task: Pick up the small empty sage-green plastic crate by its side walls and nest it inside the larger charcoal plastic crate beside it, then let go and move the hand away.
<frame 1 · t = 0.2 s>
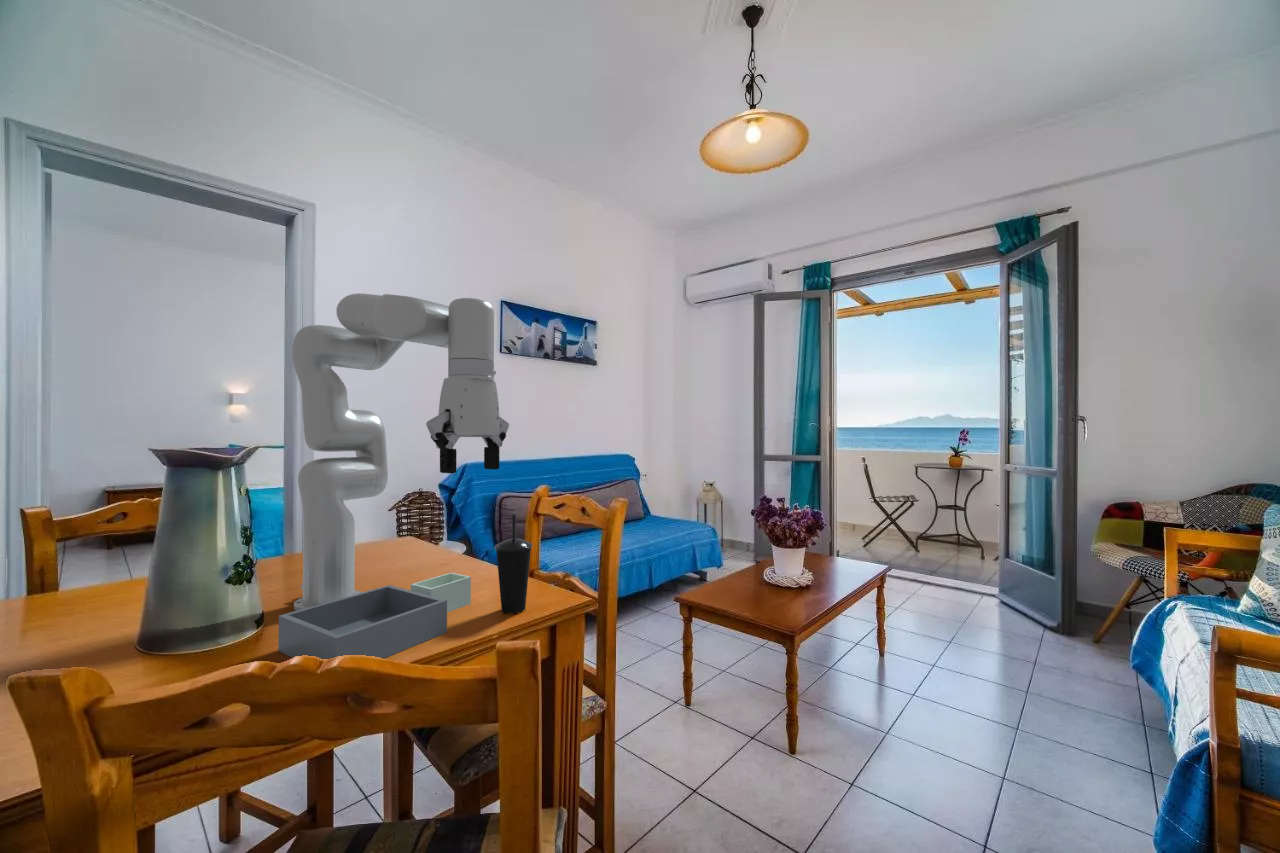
hand: (470, 470, 86), 31 cm above the table, tool pointing down, fingers open, 9 cm apart
big crate: (366, 641, 89), on the table
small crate: (441, 608, 106), on the table
drinking cup: (513, 610, 105), on the table
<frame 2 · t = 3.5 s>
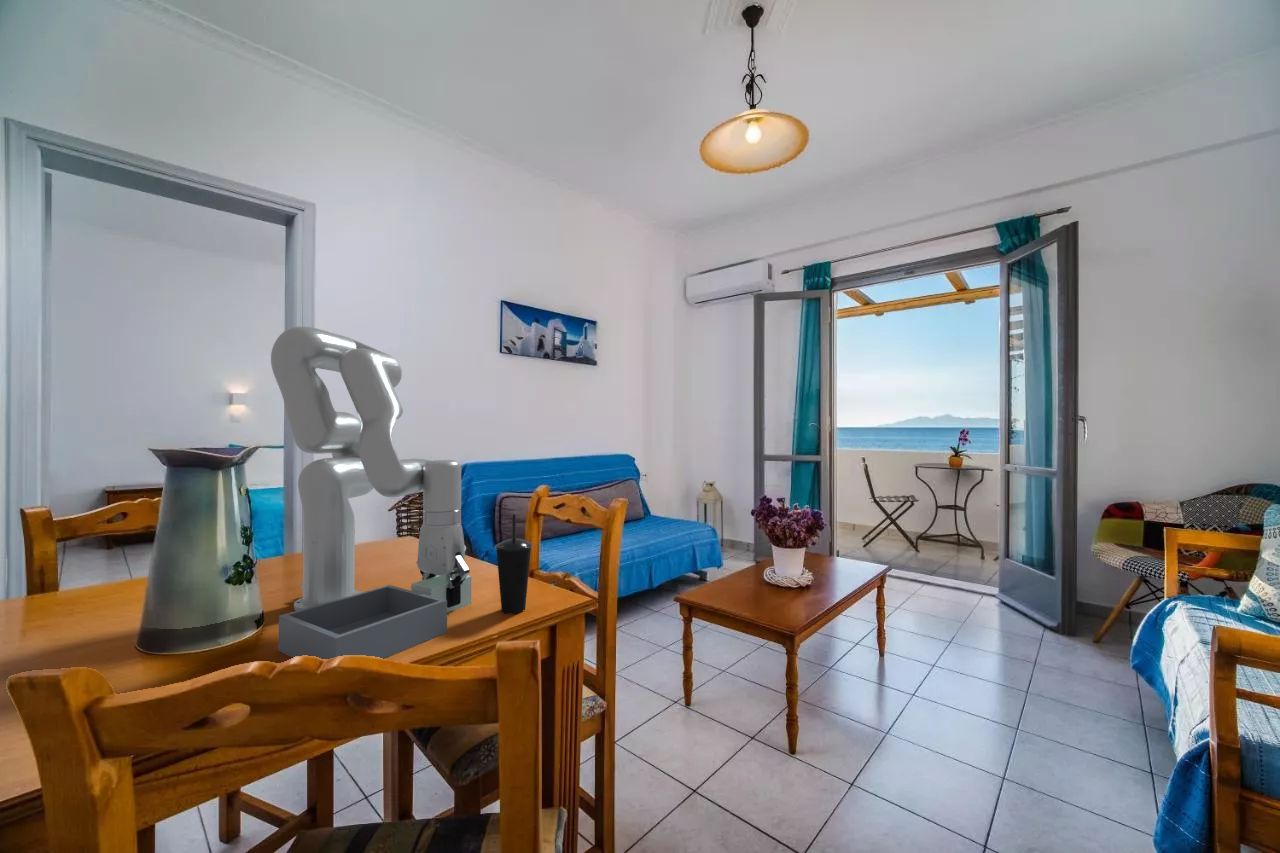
hand: (442, 601, 106), 1 cm above the table, tool pointing down, fingers closed on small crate, 6 cm apart
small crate: (441, 608, 106), on the table, touching gripper
everything else where it was.
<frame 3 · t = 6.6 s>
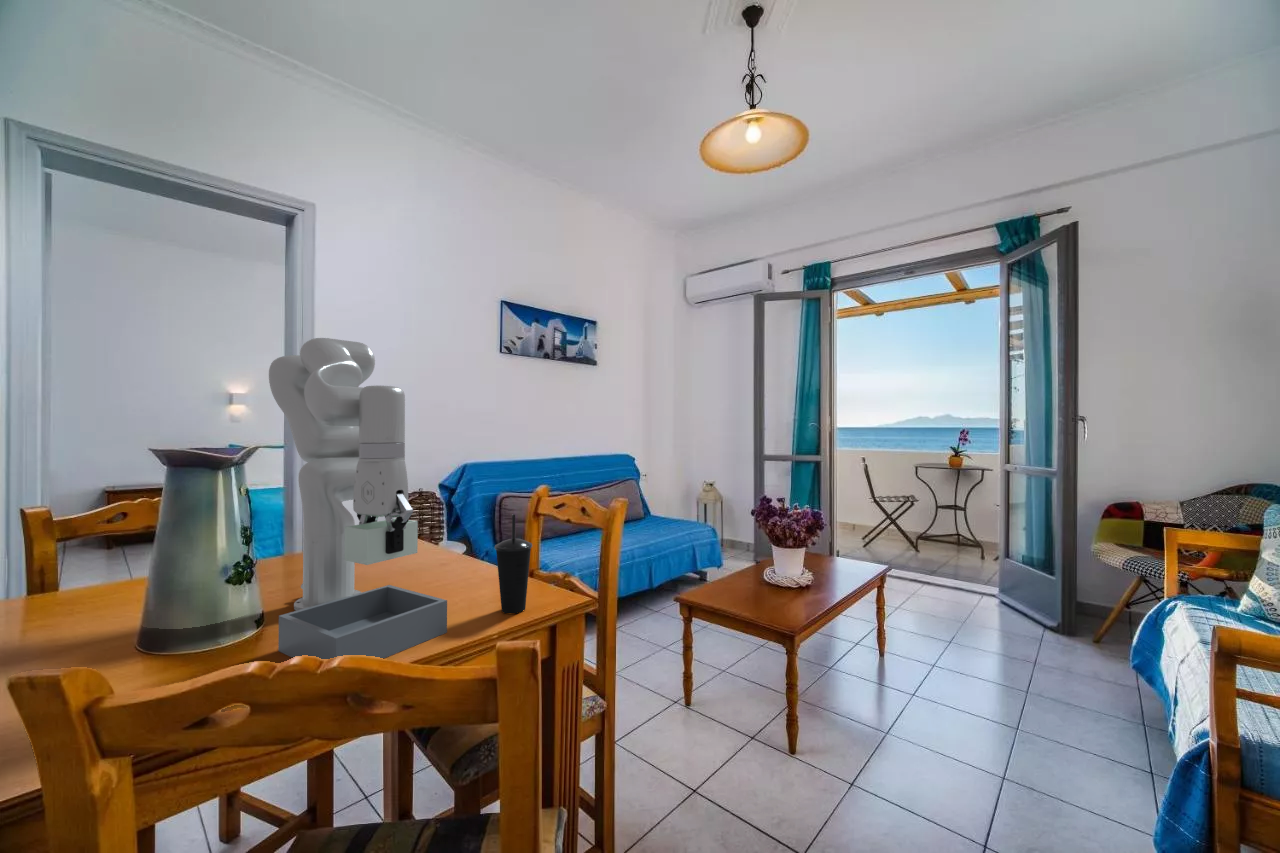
hand: (382, 549, 92), 16 cm above the table, tool pointing down, fingers closed on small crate, 6 cm apart
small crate: (382, 556, 92), point 14 cm above the table, touching gripper
everything else where it was.
when the fingers open (4 cm above the table, at t = 9.7 s): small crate drops 1 cm, resting on big crate.
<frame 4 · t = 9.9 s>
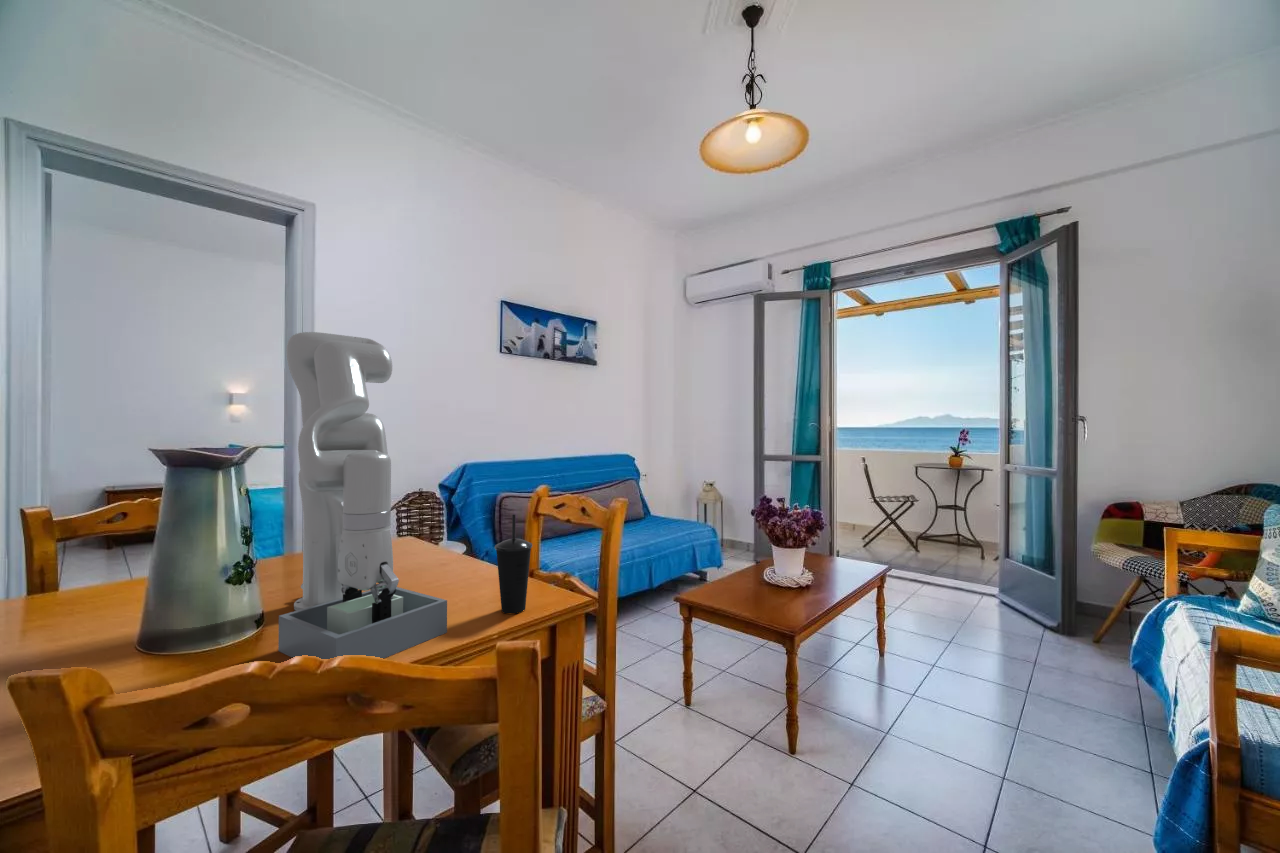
hand: (366, 618, 89), 4 cm above the table, tool pointing down, fingers open, 8 cm apart
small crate: (366, 635, 89), point 1 cm above the table, touching big crate
everything else where it was.
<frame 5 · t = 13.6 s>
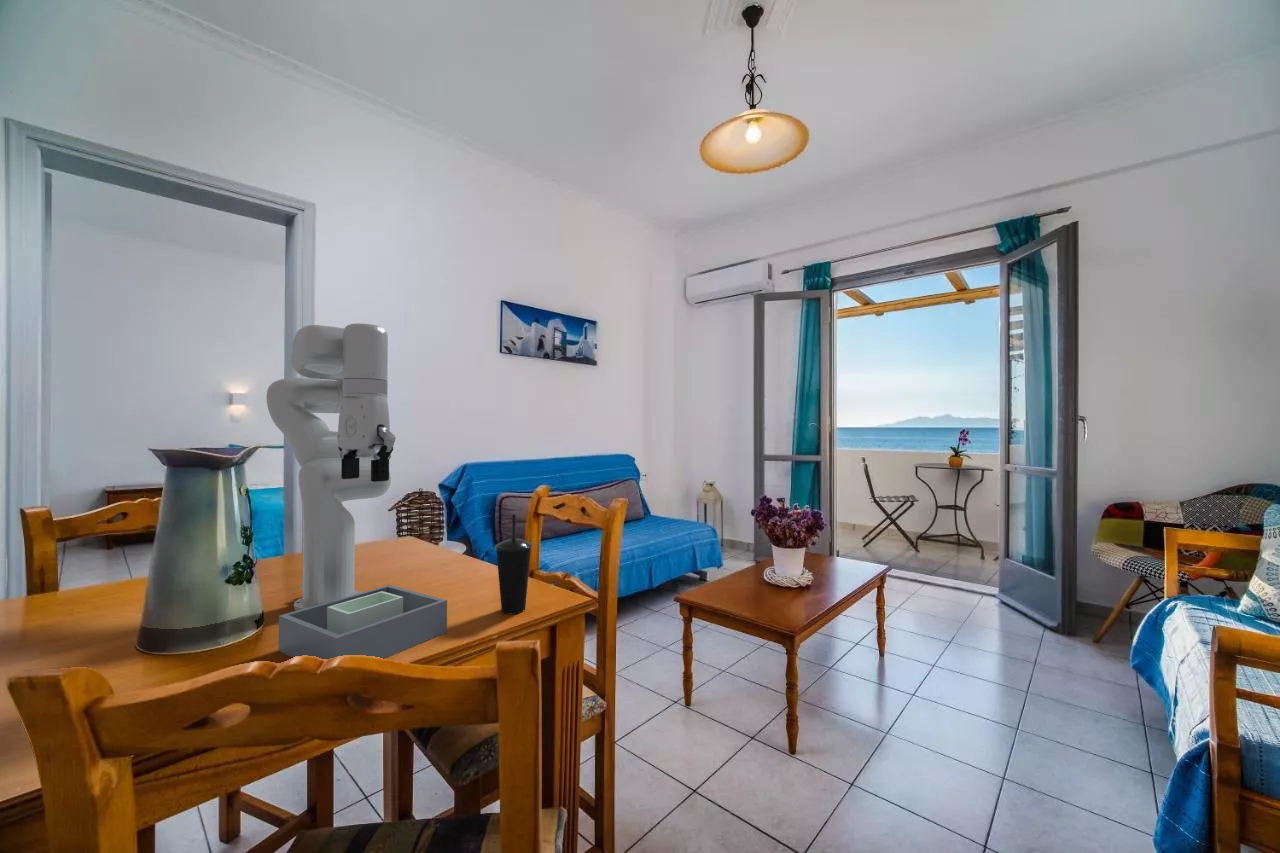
hand: (364, 479, 95), 28 cm above the table, tool pointing down, fingers open, 9 cm apart
nothing on the table moved.
at the end: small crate inside the target area on the big crate (0.2 cm from its centre), point 1.0 cm above the big crate's base; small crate tilted 0°; the gripper is holding nothing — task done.
